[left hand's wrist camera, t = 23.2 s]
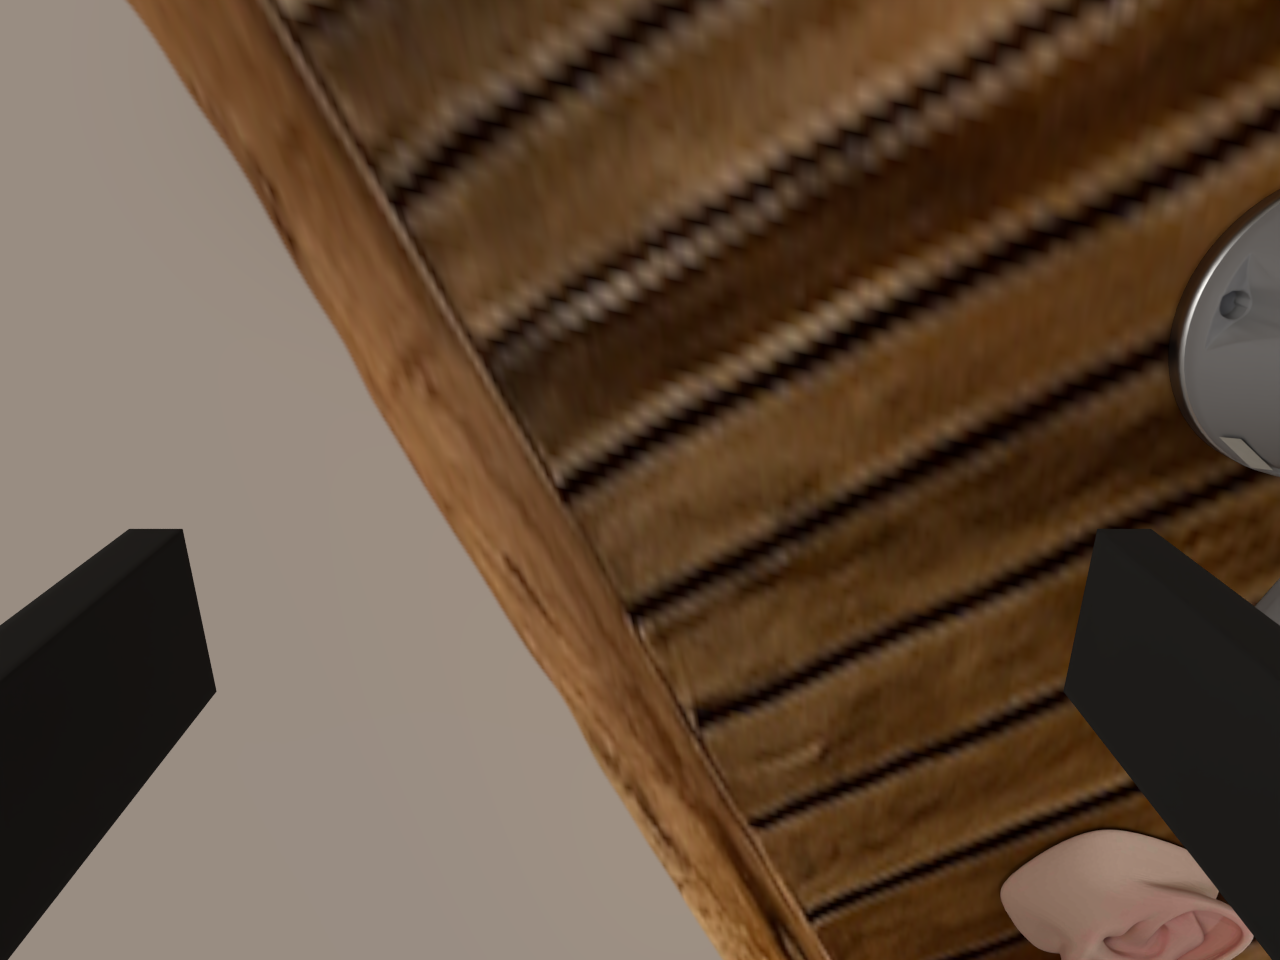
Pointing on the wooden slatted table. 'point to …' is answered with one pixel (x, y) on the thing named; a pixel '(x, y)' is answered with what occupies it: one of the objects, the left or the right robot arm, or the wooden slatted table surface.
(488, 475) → the wooden slatted table surface
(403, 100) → the wooden slatted table surface
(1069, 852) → the anatomical model
